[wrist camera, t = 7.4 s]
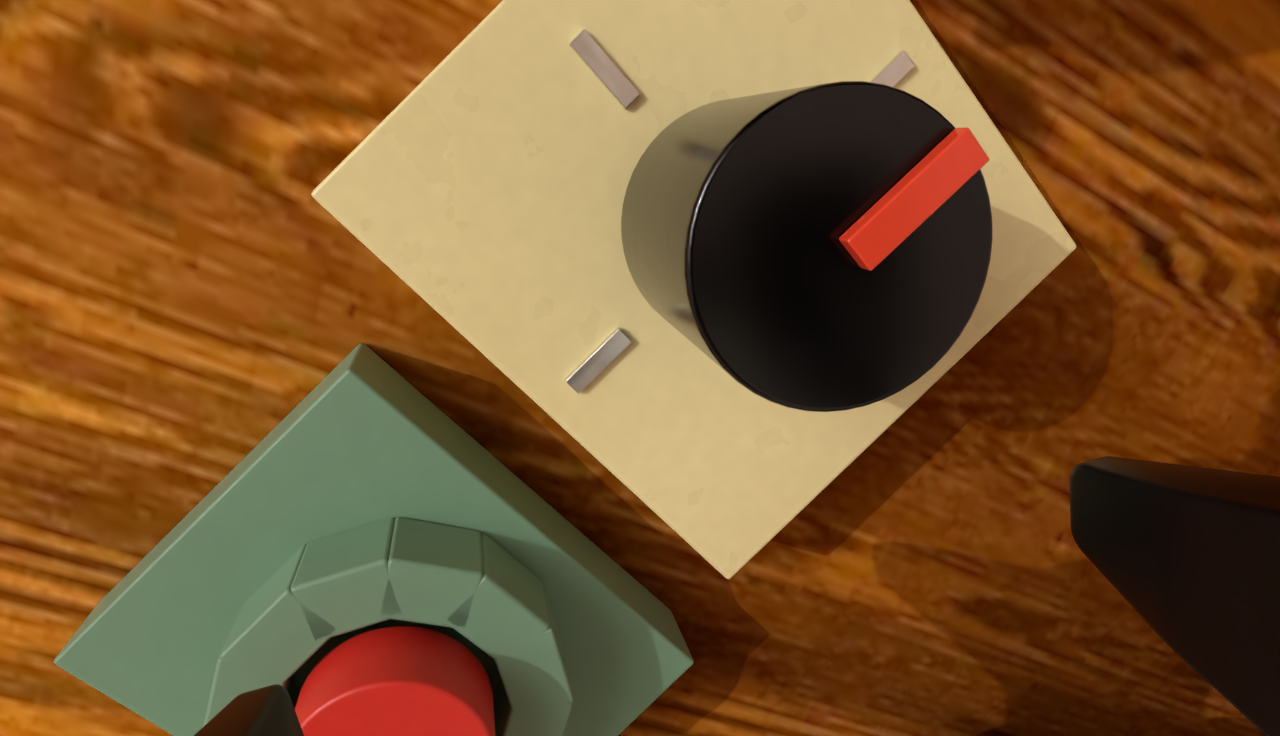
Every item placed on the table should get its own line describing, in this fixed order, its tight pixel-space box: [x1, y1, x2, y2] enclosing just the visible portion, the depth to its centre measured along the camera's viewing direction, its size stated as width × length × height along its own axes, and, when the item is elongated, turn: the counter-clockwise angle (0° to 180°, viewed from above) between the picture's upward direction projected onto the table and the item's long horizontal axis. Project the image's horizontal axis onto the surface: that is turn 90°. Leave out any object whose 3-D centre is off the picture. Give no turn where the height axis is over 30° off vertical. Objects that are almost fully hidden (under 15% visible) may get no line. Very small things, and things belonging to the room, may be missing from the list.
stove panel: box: [311, 0, 1077, 579], centre depth 16 cm, size 11×10×3 cm
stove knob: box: [621, 81, 992, 412], centre depth 13 cm, size 4×4×5 cm
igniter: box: [54, 343, 694, 736], centre depth 17 cm, size 10×8×4 cm
